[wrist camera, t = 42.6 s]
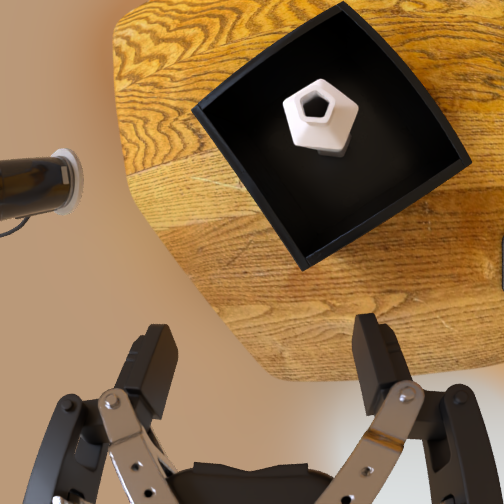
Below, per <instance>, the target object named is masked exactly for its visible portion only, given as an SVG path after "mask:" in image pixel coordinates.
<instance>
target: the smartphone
mask: <svg viewBox="0 0 504 504" xmlns="http://www.w3.org/2000/svg"><path fill="white" fill-rule="evenodd" d="M502 289H503V291H504V236H503V239H502Z"/></svg>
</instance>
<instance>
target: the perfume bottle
mask: <svg viewBox="0 0 504 504" xmlns="http://www.w3.org/2000/svg"><path fill="white" fill-rule="evenodd" d="M283 107H284V110H285V113H286V117H287V120H288V124H289V128H290V131H291V135H292V139H293V142H294V144H295V145H298V146H302V147H307V148H311V149H316V150H317V151H318V154H319V155H323V156H333V157H343V156H344V155H345V152H346V150H347V147H348V145H349V142H350V140H351V137H352V136H351V134H350V130H351V128H352V125H353V122H354V120H355V117H356V115H357V112H358V105H357V104H356V103H354V102H353V101H352V100H351V99H349V98H348V97H347V96H345V95H344V94H343V93H341V92H340V91H339V90H337V89H336V88H335V87H333V86H332V85H331V84H329V83H328V82H326V81H325V80H323V79H319V80H317V81H315V82H313V83H311V84H310V85H308V86H306V87H305V88H303V89H302V90H300V91H298V92H297V93H295V94H293V95H292V96H290V97H289V98H287V99H286V100H284V102H283Z"/></svg>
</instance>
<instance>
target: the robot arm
mask: <svg viewBox="0 0 504 504" xmlns="http://www.w3.org/2000/svg"><path fill="white" fill-rule="evenodd" d="M74 186H75V178H74V171H73V167H72V165H71V163H70V161H69V160H68V159H67V158H66V157H65V156H55V157H36V158H23V159H11V160H1V161H0V221H2V220H7V219H11V218H15V219H20V218H24V220H23V221H22V222H21V223H20V224H19V225H18V226H17V227H15V228H13V229H12V230H10V231H8V232H5V233H2V234H0V237H4V236H7V235H10V234H12V233H14V232H15V231H17V230H19V229H20V228H22V227H23V226H24V224H25V223H26V222H27V221H28V219H29V218H30V217H31V216H34V215H37V214H43V213H47V212H52V211H57V209H60V208H64V207H66V206H67V205H68V204H69V203H70V201H71V199H72V196H73V192H74ZM352 352H353V357H354V361H355V365H356V369H357V374H358V378H359V382H360V387H361V391H362V396H363V401H364V406H365V410H366V415H367V416H370V415H374V416H375V418H374V420H373V422H372V423H371V425H370V427H369V429H368V430H367V431H366V432H365V433H364V435H363V436H362V438H361V440H360V441H359V443H358V444H357V446H356V447H355V449H354V451H353V452H352V453H351V455H350V456H349V458H348V459H347V461H346V462H345V464H344V465H343V466H342V468H341V469H340V471H339V472H338V474H337V475H336V476H335V478H333V477H332V476H330V475H328V474H326V473H323V472H321V471H317V470H312V469H308V464H307V463H304V464H288V465H277V466H273V467H268V468H264V469H260V470H255V471H244V470H240V469H237V468H233V467H229V466H226V465H222V464H213V463H212V464H211V463H200V462H194V467H193V468H190V469H185V470H182V471H179V472H178V471H177V469H176V468H175V466H174V465H173V464H172V462H171V461H170V460H169V458H168V456H167V455H166V453H165V451H164V449H163V447H162V446H161V444H160V442H159V440H158V438H157V436H156V434H155V432H154V430H153V428H152V427H151V422H152V419H159V420H161V418H162V415H163V411H164V407H165V404H166V400H167V396H168V393H169V389H170V386H171V382H172V379H173V375H174V372H175V368H176V365H177V361H178V349H177V346H176V343H175V341H174V338H173V336H172V333H171V331H170V328H169V326H168V325H167V324H151V325H150V326H149V327H148V330H147V332H146V334H145V335H141V336H140V337H139V338H138V339H137V340H136V341H135V342H134V343H133V345H132V347H131V349H130V351H129V354H128V356H127V358H126V361H125V363H124V366H123V367H122V370H121V372H120V375H119V377H118V379H117V382H116V384H115V386H114V388H112V389H109V390H107V391H105V392H104V393H103V394H102V395H101V396H100V398H99V399H94V400H87V401H82V400H81V399H80V397H79V396H77V395H75V394H67V395H65V396H63V397H62V398H61V399H60V400H59V401H58V403H57V405H56V408H55V410H54V412H53V415H52V417H51V420H50V422H49V425H48V427H47V430H46V433H45V435H44V438H43V441H42V444H41V446H40V449H39V452H38V455H37V458H36V461H35V464H34V467H33V470H32V473H31V476H30V479H29V483H28V486H27V490H26V493H25V497H24V500H23V504H95V503H96V499H97V494H98V489H99V485H100V481H101V476H102V472H103V468H104V464H105V460H106V456H107V452H109V455H110V458H111V460H112V463H113V465H114V468H115V470H116V473H117V475H118V477H119V480H120V482H121V484H122V486H123V489H124V491H125V493H126V495H127V497H128V500H129V502H130V504H372V502H373V500H374V499H375V498H376V496H377V494H378V493H379V491H380V490H381V488H382V486H383V485H384V483H385V482H386V480H387V478H388V476H389V475H390V473H391V471H392V469H393V467H394V466H395V464H396V462H397V460H398V458H399V457H400V455H401V453H402V451H403V448H404V443H405V441H406V439H420V440H422V442H423V447H424V453H425V459H426V464H427V471H428V478H429V484H430V492H431V500H432V504H503V499H502V493H501V487H500V482H499V477H498V473H497V468H496V464H495V460H494V455H493V452H492V448H491V444H490V440H489V437H488V434H487V430H486V427H485V424H484V421H483V418H482V415H481V411H480V409H479V406H478V403H477V400H476V397H475V394H474V392H473V391H472V390H471V389H470V388H469V387H468V386H466V385H463V384H455V385H452V386H450V387H449V388H448V389H447V390H446V392H437V391H427V390H424V389H422V387H421V386H420V385H419V384H417V383H416V382H414V381H413V380H412V377H411V375H410V372H409V369H408V366H407V364H406V361H405V358H404V356H403V353H402V351H401V348H400V345H399V343H398V340H397V338H396V335H395V333H394V331H393V330H392V329H391V328H390V327H389V326H388V325H387V324H378V322H377V319H376V316H375V314H374V313H368V314H359V315H356V317H355V323H354V330H353V336H352ZM79 437H80V439H79ZM78 441H79V442H78ZM77 444H78V445H77ZM76 447H77V448H76ZM75 450H76V452H75Z"/></svg>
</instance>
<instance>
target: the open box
mask: <svg viewBox="0 0 504 504" xmlns="http://www.w3.org/2000/svg"><path fill="white" fill-rule="evenodd" d="M319 79H323V80H325V81H326V82H328V83H329V84H331V85H332V86H333V87H335V88H336V89H337V90H339V91H340V92H341V93H343V94H344V95H345V96H347V97H348V98H349V99H351V100H352V101H353V102H354V103H356V104H357V105H358V112H357V115H356V117H355V120H354V122H353V125H352V128H351V130H350V134H351V136H352V137H351V140H350V142H349V145H348V147H347V150H346V152H345V155H344V156H343V157H333V156H323V155H319V154H318V151H317V150H316V149H311V148H307V147H302V146H298V145H295V144H294V142H293V139H292V135H291V131H290V128H289V124H288V120H287V117H286V113H285V110H284V107H283V102H284V100H286V99H287V98H289V97H290V96H292V95H293V94H295V93H297V92H298V91H300V90H302V89H303V88H305V87H306V86H308V85H310V84H311V83H313V82H315V81H317V80H319ZM191 111H192V113H193V114H194V115H195V117H196V118H197V119H198V121H199V122H200V124H201V125H202V126H203V128H204V129H205V131H206V132H207V133H208V135H209V136H210V138H211V139H212V140H213V142H214V143H215V145H216V146H217V147H218V149H219V150H220V152H221V153H222V154H223V156H224V157H225V159H226V160H227V161H228V163H229V164H230V166H231V167H232V169H233V170H234V171H235V173H236V174H237V176H238V177H239V179H240V180H241V182H242V183H243V184H244V186H245V187H246V189H247V190H248V192H249V193H250V195H251V196H252V198H253V199H254V200H255V202H256V203H257V205H258V206H259V208H260V209H261V211H262V212H263V214H264V215H265V217H266V218H267V220H268V221H269V222H270V224H271V225H272V227H273V228H274V230H275V231H276V233H277V234H278V236H279V237H280V239H281V240H282V242H283V243H284V245H285V246H286V248H287V249H288V251H289V252H290V254H291V255H292V257H293V259H294V260H295V262H296V263H297V265H298V266H299V268H300V269H301V271H305V270H306V269H308V268H310V267H311V266H313V265H315V264H317V263H318V262H320V261H322V260H323V259H325V258H327V257H328V256H330V255H332V254H333V253H335V252H337V251H338V250H340V249H341V248H343V247H345V246H346V245H348V244H350V243H351V242H353V241H355V240H356V239H358V238H359V237H361V236H363V235H364V234H366V233H367V232H369V231H371V230H372V229H374V228H375V227H377V226H379V225H380V224H382V223H383V222H385V221H386V220H388V219H390V218H391V217H393V216H394V215H396V214H397V213H399V212H400V211H402V210H403V209H405V208H407V207H408V206H410V205H411V204H413V203H414V202H416V201H417V200H419V199H420V198H422V197H423V196H425V195H426V194H428V193H429V192H431V191H432V190H434V189H435V188H437V187H438V186H440V185H441V184H443V183H444V182H446V181H447V180H449V179H450V178H451V177H453V176H454V175H456V174H457V173H459V172H460V171H462V170H463V169H464V168H466V167H467V166H469V165H470V164H472V161H471V159H470V157H469V155H468V153H467V152H466V150H465V148H464V146H463V145H462V143H461V141H460V139H459V138H458V136H457V134H456V133H455V131H454V130H453V128H452V126H451V125H450V123H449V122H448V120H447V119H446V117H445V116H444V114H443V113H442V111H441V110H440V108H439V107H438V105H437V104H436V102H435V101H434V100H433V98H432V97H431V95H430V94H429V93H428V91H427V90H426V89H425V87H424V86H423V85H422V83H421V82H420V81H419V79H418V78H417V77H416V76H415V74H414V73H413V72H412V71H411V70H410V68H409V67H408V66H407V65H406V63H405V62H404V61H403V60H402V59H401V58H400V56H399V55H398V54H397V53H396V52H395V51H394V50H393V49H392V48H391V46H390V45H389V44H388V43H387V42H386V41H385V40H384V39H383V38H382V37H381V36H380V35H379V34H378V33H377V32H376V31H375V30H374V29H373V28H372V27H371V26H370V25H369V24H368V23H367V22H366V21H365V20H364V19H363V18H362V17H361V16H360V15H359V14H358V13H357V12H356V11H354V10H353V9H352V8H351V7H350V6H349V5H348V4H347V3H345V2H344V1H342V2H340V3H338V4H337V5H335V6H333V7H331V8H329V9H328V10H326V11H324V12H322V13H321V14H319V15H317V16H316V17H314V18H312V19H311V20H309V21H307V22H306V23H304V24H302V25H301V26H299V27H298V28H296V29H295V30H293V31H292V32H290V33H288V34H287V35H285V36H284V37H282V38H281V39H280V40H278V41H277V42H275V43H274V44H272V45H271V46H269V47H268V48H267V49H265V50H264V51H262V52H261V53H260V54H258V55H257V56H256V57H254V58H253V59H252V60H250V61H249V62H248V63H246V64H245V65H244V66H242V67H241V68H240V69H239V70H237V71H236V72H235V73H233V74H232V75H231V76H230V77H228V78H227V79H226V80H225V81H224V82H222V83H221V84H220V85H219V86H218V87H216V88H215V89H214V90H213V91H212V92H210V93H209V94H208V95H207V96H206V97H205V98H203V99H202V100H201V101H200V102H199V103H198V104H197V105H196V106H195V107H194V108H193V109H191Z"/></svg>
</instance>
